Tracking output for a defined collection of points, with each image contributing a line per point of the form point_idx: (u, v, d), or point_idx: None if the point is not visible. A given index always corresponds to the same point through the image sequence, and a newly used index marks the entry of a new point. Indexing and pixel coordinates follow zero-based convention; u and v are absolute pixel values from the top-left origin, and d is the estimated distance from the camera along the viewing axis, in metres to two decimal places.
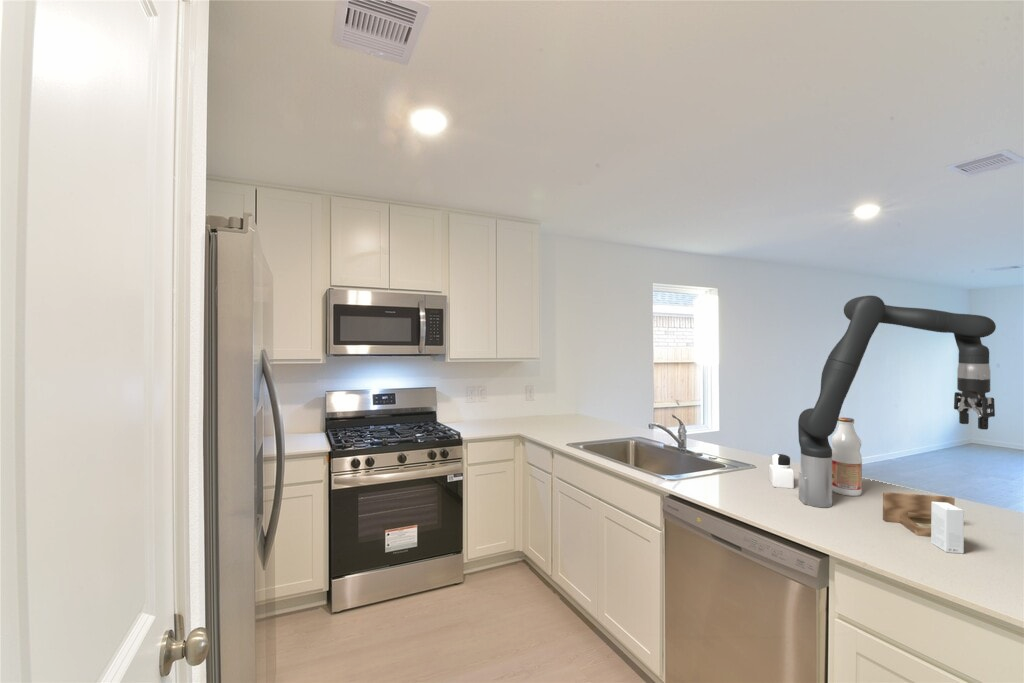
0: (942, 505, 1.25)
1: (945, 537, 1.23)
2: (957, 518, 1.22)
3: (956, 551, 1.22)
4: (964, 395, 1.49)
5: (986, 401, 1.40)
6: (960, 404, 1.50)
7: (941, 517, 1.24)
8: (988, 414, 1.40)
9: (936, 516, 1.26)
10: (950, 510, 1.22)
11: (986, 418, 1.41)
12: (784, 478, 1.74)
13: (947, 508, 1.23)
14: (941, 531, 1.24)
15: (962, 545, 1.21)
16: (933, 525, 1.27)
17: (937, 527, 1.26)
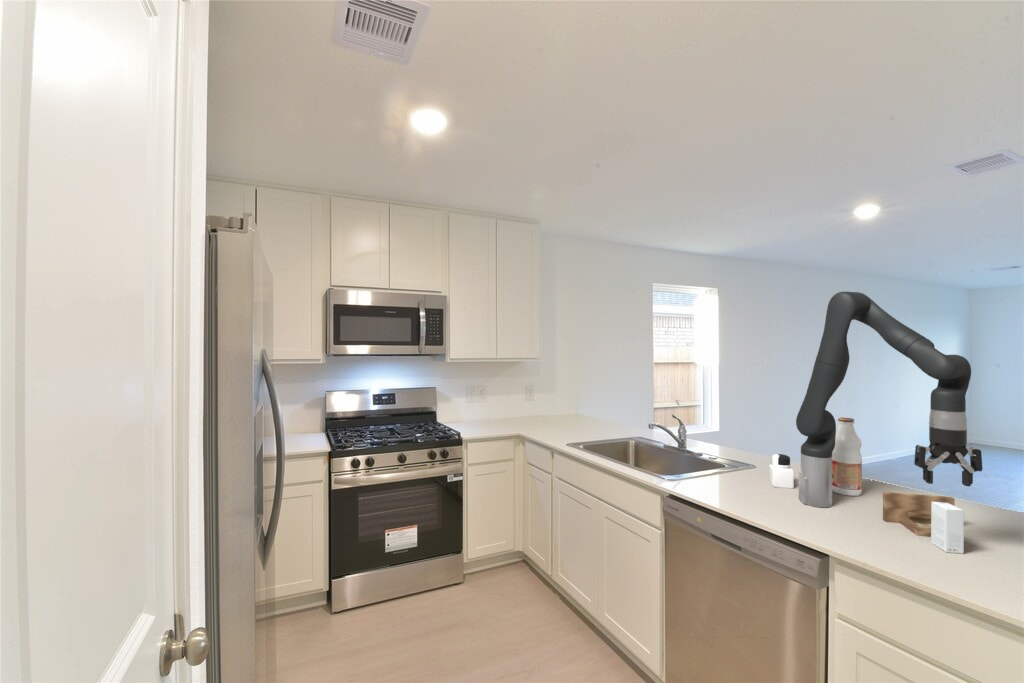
0: (942, 505, 1.25)
1: (945, 537, 1.23)
2: (957, 518, 1.22)
3: (956, 551, 1.22)
4: (940, 449, 1.24)
5: None
6: (938, 461, 1.24)
7: (941, 517, 1.24)
8: None
9: (936, 516, 1.26)
10: (950, 510, 1.22)
11: None
12: (784, 478, 1.74)
13: (947, 508, 1.23)
14: (941, 531, 1.24)
15: (962, 545, 1.21)
16: (933, 525, 1.27)
17: (937, 527, 1.26)
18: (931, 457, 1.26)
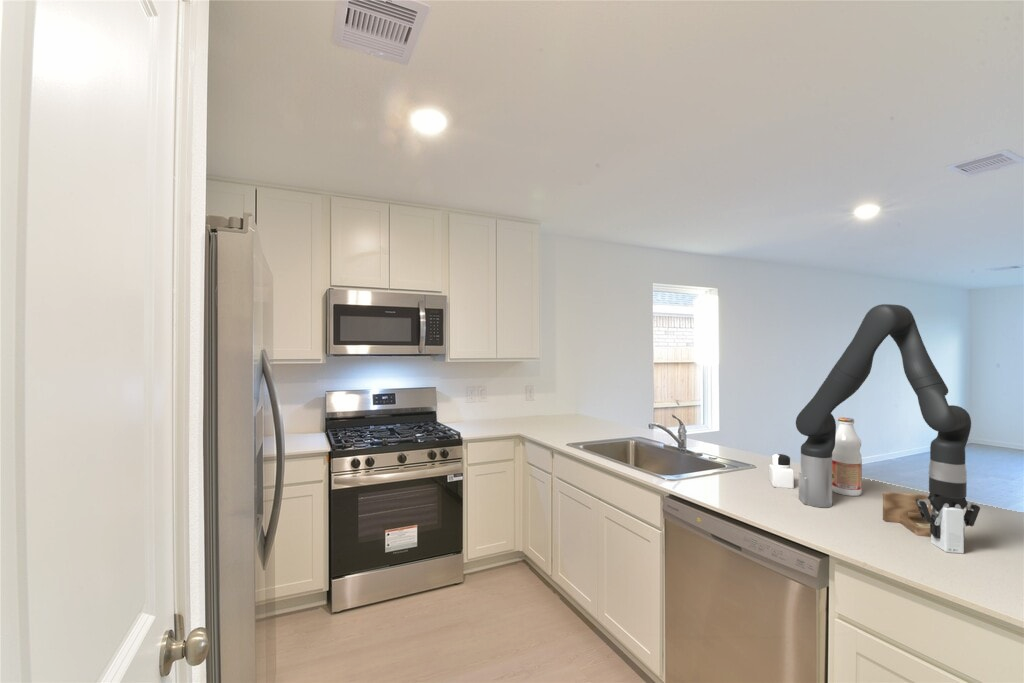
0: None
1: (945, 537, 1.23)
2: (957, 518, 1.22)
3: (956, 551, 1.22)
4: (939, 499, 1.24)
5: None
6: (941, 514, 1.24)
7: None
8: None
9: None
10: (950, 510, 1.22)
11: None
12: (784, 478, 1.74)
13: (947, 508, 1.23)
14: (941, 531, 1.24)
15: (962, 545, 1.21)
16: None
17: None
18: (934, 509, 1.26)
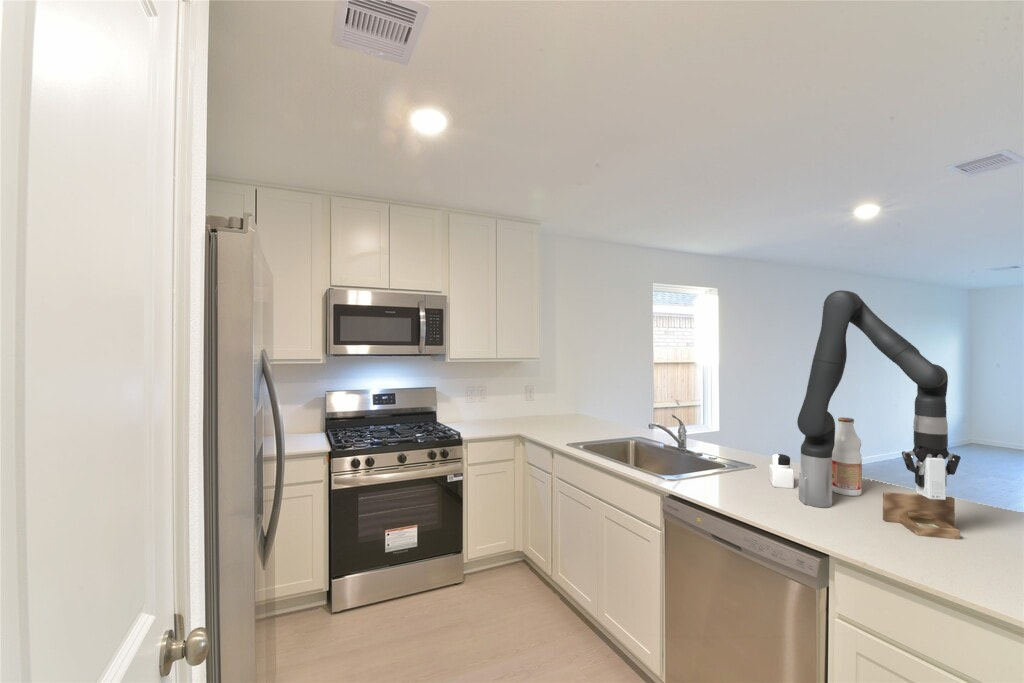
0: None
1: (928, 485, 1.32)
2: (939, 467, 1.32)
3: (939, 497, 1.32)
4: (923, 451, 1.34)
5: None
6: (925, 464, 1.33)
7: None
8: None
9: None
10: (932, 459, 1.32)
11: None
12: (784, 478, 1.74)
13: (930, 458, 1.32)
14: (925, 480, 1.34)
15: (944, 492, 1.31)
16: None
17: None
18: (918, 461, 1.36)
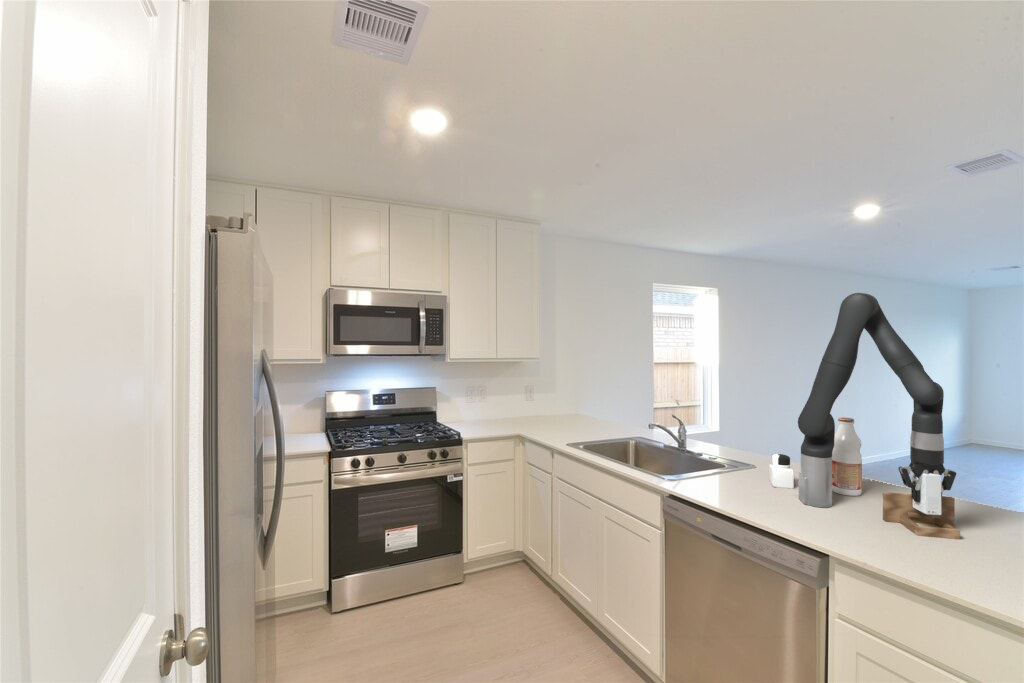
0: None
1: (924, 501, 1.34)
2: (935, 483, 1.33)
3: (934, 513, 1.33)
4: (919, 466, 1.36)
5: None
6: (921, 480, 1.35)
7: None
8: None
9: None
10: (929, 475, 1.34)
11: None
12: (784, 478, 1.74)
13: (926, 474, 1.34)
14: (921, 495, 1.36)
15: (940, 507, 1.33)
16: None
17: None
18: (915, 476, 1.38)
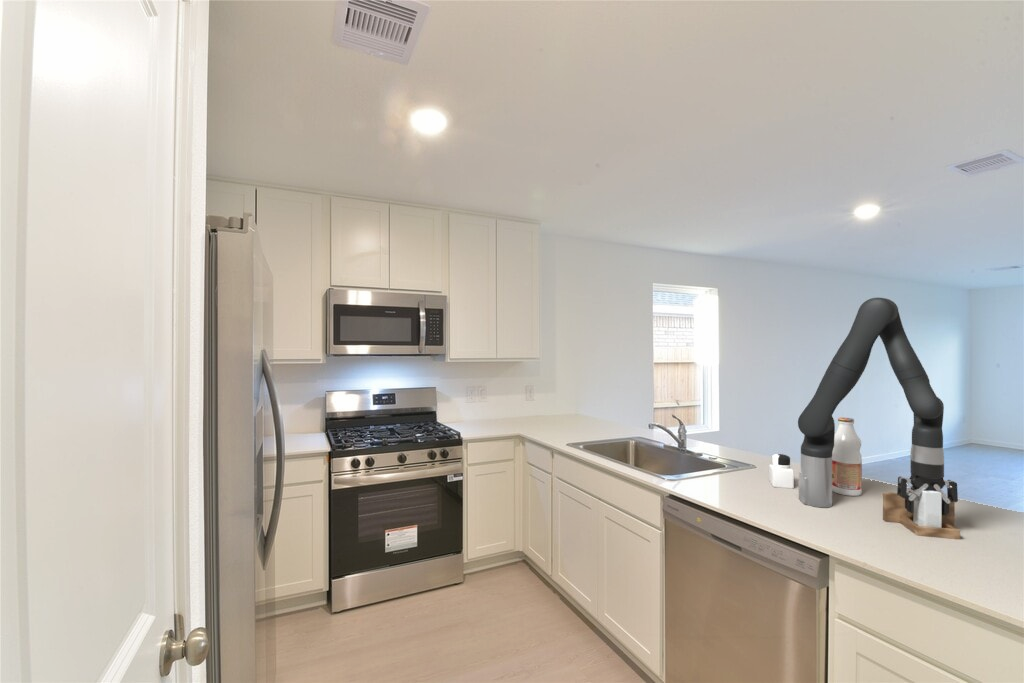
0: None
1: (924, 518, 1.34)
2: (935, 500, 1.33)
3: None
4: (920, 481, 1.36)
5: None
6: (918, 492, 1.36)
7: (921, 499, 1.36)
8: None
9: (917, 499, 1.38)
10: (929, 493, 1.34)
11: None
12: (784, 478, 1.74)
13: (926, 491, 1.34)
14: (921, 512, 1.36)
15: (940, 525, 1.33)
16: (914, 507, 1.39)
17: (918, 509, 1.37)
18: (912, 488, 1.38)
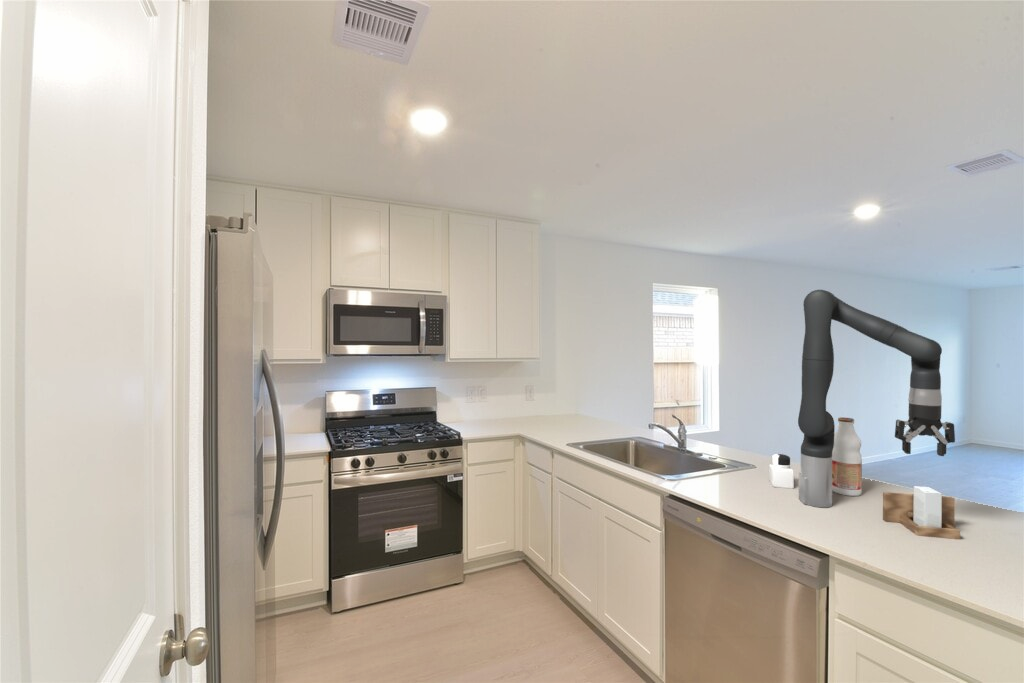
0: (922, 489, 1.36)
1: (924, 518, 1.34)
2: (935, 500, 1.33)
3: None
4: (918, 423, 1.39)
5: None
6: (915, 433, 1.38)
7: (921, 499, 1.36)
8: None
9: (917, 499, 1.38)
10: (929, 493, 1.34)
11: None
12: (784, 478, 1.74)
13: (927, 491, 1.34)
14: (921, 512, 1.36)
15: (940, 525, 1.33)
16: (914, 507, 1.39)
17: (918, 509, 1.37)
18: (910, 430, 1.41)
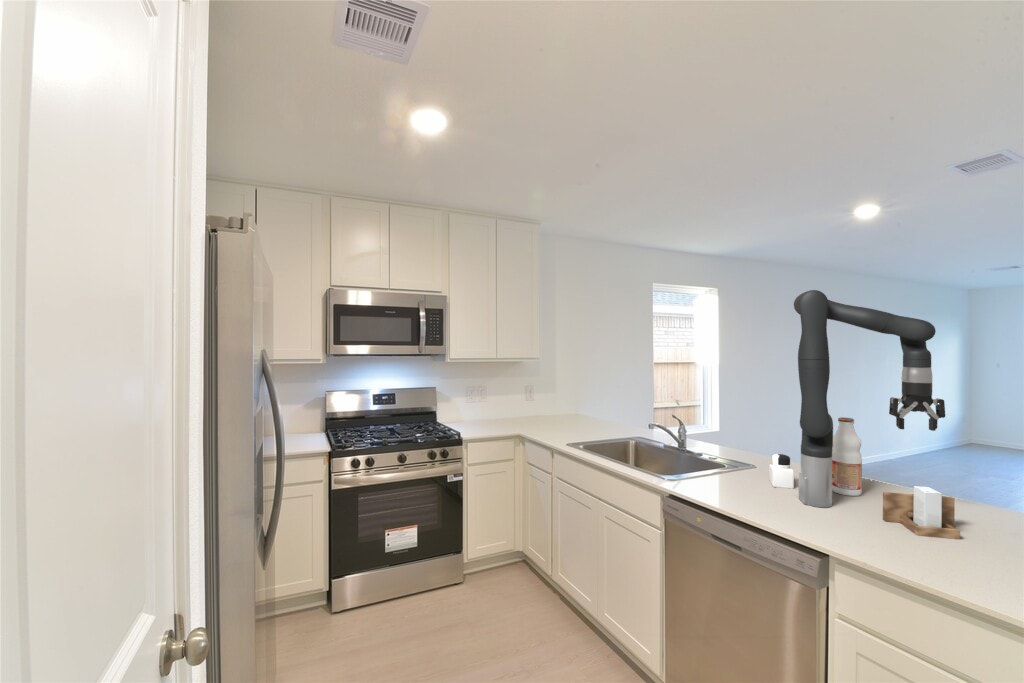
0: (922, 489, 1.36)
1: (924, 518, 1.34)
2: (935, 500, 1.33)
3: None
4: (910, 400, 1.47)
5: None
6: (908, 409, 1.47)
7: (921, 499, 1.36)
8: None
9: (917, 499, 1.38)
10: (929, 493, 1.34)
11: None
12: (784, 478, 1.74)
13: (927, 491, 1.34)
14: (921, 512, 1.36)
15: (940, 525, 1.33)
16: (914, 507, 1.39)
17: (918, 509, 1.37)
18: (903, 407, 1.50)
